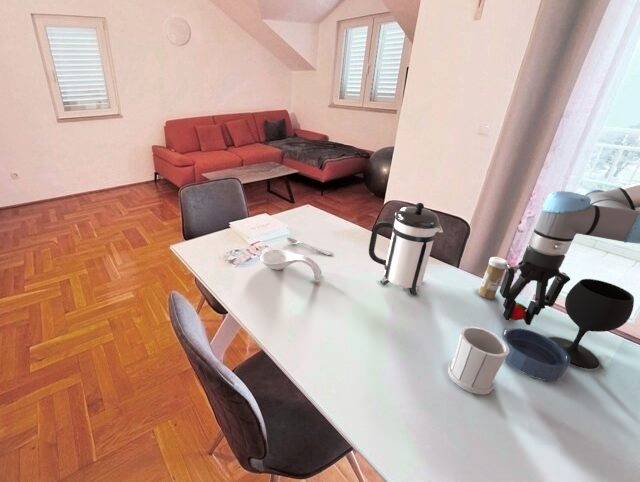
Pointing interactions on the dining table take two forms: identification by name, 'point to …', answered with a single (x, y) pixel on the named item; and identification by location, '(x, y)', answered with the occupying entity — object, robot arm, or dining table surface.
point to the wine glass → (594, 316)
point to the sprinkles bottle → (492, 277)
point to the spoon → (307, 245)
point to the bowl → (535, 354)
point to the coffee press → (407, 246)
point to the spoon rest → (288, 261)
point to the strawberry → (518, 312)
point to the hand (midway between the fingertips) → (516, 319)
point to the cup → (477, 360)
